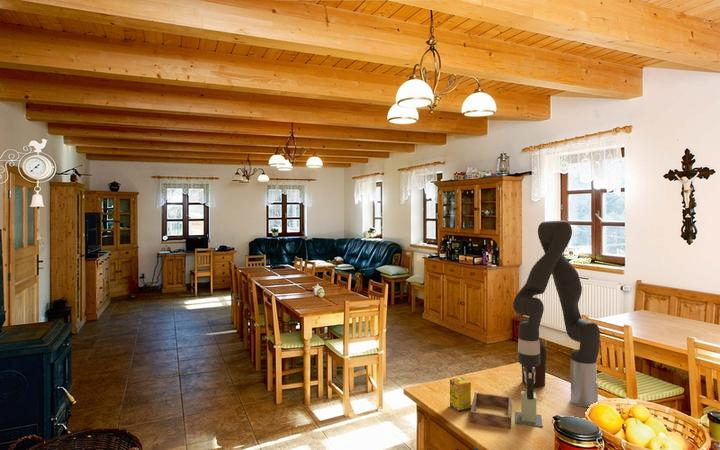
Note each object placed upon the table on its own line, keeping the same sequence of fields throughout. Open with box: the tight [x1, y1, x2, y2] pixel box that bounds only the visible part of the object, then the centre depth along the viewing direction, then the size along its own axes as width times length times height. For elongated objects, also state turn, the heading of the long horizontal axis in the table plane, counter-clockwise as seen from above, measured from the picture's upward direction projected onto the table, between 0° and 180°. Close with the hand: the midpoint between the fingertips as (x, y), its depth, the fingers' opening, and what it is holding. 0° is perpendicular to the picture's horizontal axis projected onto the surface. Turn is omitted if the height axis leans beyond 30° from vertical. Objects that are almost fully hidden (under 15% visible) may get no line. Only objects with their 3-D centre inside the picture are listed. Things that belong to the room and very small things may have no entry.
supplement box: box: [449, 376, 472, 413], centre depth 170 cm, size 6×6×11 cm
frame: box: [469, 391, 513, 429], centre depth 164 cm, size 14×18×4 cm
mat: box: [515, 411, 543, 428], centre depth 160 cm, size 9×9×1 cm
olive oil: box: [521, 338, 548, 389], centre depth 192 cm, size 11×11×25 cm
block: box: [520, 390, 537, 423], centre depth 160 cm, size 5×5×9 cm
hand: (529, 394), depth 159 cm, fingers open, 8 cm apart
